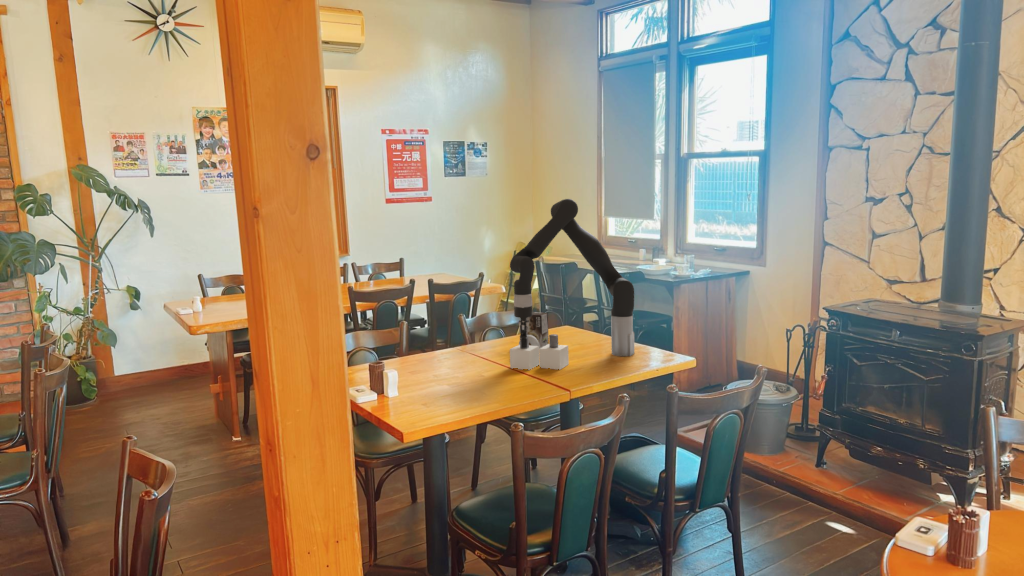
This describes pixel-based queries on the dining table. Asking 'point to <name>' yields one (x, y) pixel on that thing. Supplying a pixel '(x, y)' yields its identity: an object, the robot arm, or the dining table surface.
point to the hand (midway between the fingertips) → (524, 345)
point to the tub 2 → (553, 354)
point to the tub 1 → (524, 356)
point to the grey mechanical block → (539, 328)
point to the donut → (532, 341)
